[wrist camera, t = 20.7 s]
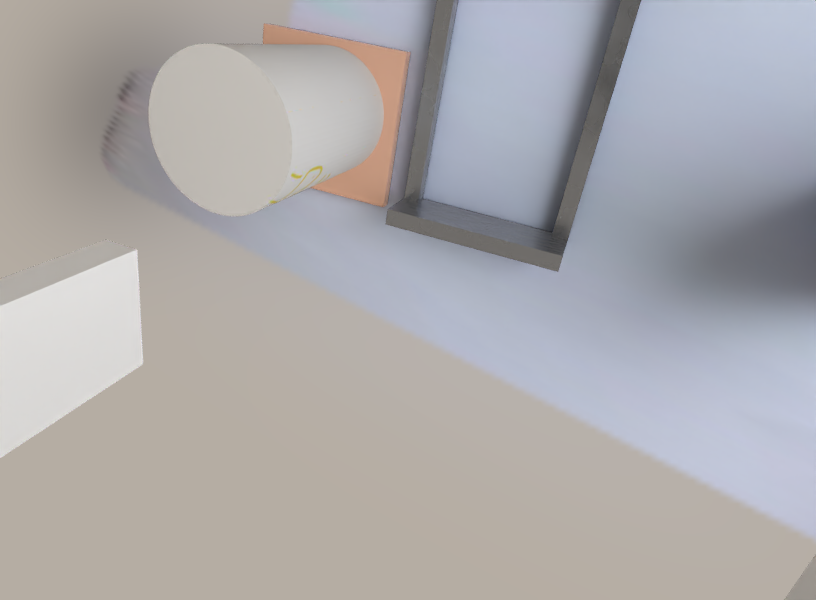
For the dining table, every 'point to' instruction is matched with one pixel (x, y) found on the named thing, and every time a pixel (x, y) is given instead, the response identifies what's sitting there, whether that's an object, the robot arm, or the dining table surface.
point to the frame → (482, 228)
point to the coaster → (391, 76)
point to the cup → (261, 121)
